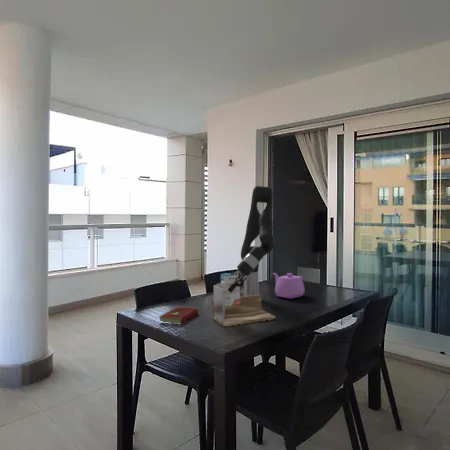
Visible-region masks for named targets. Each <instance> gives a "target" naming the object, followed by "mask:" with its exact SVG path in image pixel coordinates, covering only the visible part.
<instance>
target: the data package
mask: <svg viewBox="0 0 450 450" xmlns="http://www.w3.org/2000/svg"><path fill="white" fill-rule="evenodd" d="M230 275H231V273H221V274H220V282H221V281H224V278H223V277H224V276H230Z"/></svg>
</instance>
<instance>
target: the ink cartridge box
mask: <svg viewBox="0 0 450 450" xmlns="http://www.w3.org/2000/svg"><path fill="white" fill-rule="evenodd" d="M231 277H232V278H234V279H229V278H231ZM236 277H239V275H233V276H224V277H223V278H224V281H221V280H220V283H221V288H223V289H224V305H225V306H228V305H238V304H240V297H241V285H240V286H239V287H238V286H237V287H236V288H235V289H234V290H233V291H232V292H229V291H228V289H229V288H230V286H231V285H232V284H233V282H234V281H235V278H236ZM237 280H238V278H237Z"/></svg>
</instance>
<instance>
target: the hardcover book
mask: <svg viewBox="0 0 450 450" xmlns="http://www.w3.org/2000/svg"><path fill="white" fill-rule="evenodd" d="M196 314H198V315H199V308H198V307H192V306H191V307H190V306H176V307H174V308H172V309H170V310H169V311H167V312H164V313H163V314H161V315H159V316H158V318H159V322H160V321H163V322H171V323H180V324H181V323H183V322H185V321H187V320H188V319H190V318H191V319H193V318H194V317H193V316H195V315H196ZM196 316H197V315H196ZM196 316H195V317H196ZM192 317H193V318H192ZM191 319H190V320H191ZM188 321H189V320H188ZM188 321H187V322H188ZM185 323H186V322H185Z"/></svg>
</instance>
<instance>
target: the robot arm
mask: <svg viewBox="0 0 450 450" xmlns="http://www.w3.org/2000/svg"><path fill="white" fill-rule="evenodd" d="M273 199H274V198H273V189H272V187H269V186H261V185H255V186H254V187H253V190H252V195H251V203H250V210H249V215H248V217H247V218H248V220H247V223H246V229H245V235H244V239H243V242H242V246H241V249H240V259H241V261H240V263H239V264H237V266H236V269H237V270H236V271H232V272H231V273H230V274H231V275H230V276H233V275H239V277H236V278H235V281H234V282H233V284H232V285H231V286H230V288H229V289H228V291H229V292H232V291H233V290H234V289H235V288H236V287H237V286H238V287H239V286H240V287H241V286H242V284H243V296H252V295H260V294H259V291H260V290H259V268H260V267H259V266H260V265H259V264H260V262H261V260H262V259H263V258H264V257H265V256H266V255H268V254H269V253H270V252H272V250H273V249H274V248H275V245H276V241H275V238H274V236H273V230H274V229H273V228H274V227H273V226H274V225H273ZM258 203H261V204H262V203H264V204H266V206H265V208H264V209H263V211H262V212H261V213H260V211H259V208H258ZM257 238H259V242H260V245H259V246H256V245H252V243H253V242H254V241H255V240H256V239H257ZM237 278H238V280H237ZM229 279H234V278H232V277H231V278H229Z"/></svg>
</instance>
